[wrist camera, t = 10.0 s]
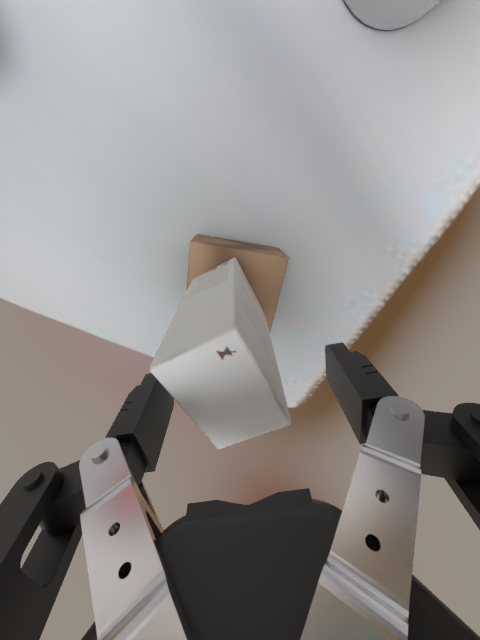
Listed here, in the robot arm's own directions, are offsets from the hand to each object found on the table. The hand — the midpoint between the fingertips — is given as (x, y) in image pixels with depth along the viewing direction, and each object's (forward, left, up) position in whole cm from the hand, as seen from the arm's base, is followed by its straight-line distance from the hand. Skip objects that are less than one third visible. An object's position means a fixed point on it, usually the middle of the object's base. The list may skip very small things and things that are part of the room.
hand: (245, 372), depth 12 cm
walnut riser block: (0, 0, -15) cm, 15 cm away
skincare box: (+1, 0, -11) cm, 11 cm away
